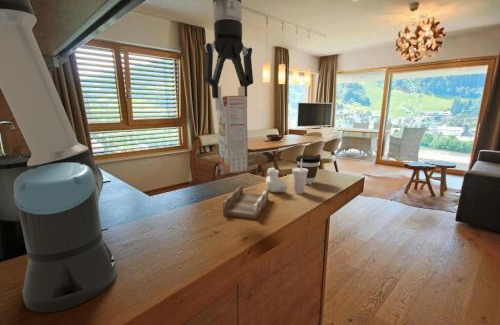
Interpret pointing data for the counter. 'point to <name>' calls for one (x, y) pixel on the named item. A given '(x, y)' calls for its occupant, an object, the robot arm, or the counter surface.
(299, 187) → the smoothie
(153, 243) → the counter surface
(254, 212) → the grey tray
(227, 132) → the cracker box
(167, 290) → the counter surface
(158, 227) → the counter surface
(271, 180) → the bust
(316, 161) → the coffee cup
